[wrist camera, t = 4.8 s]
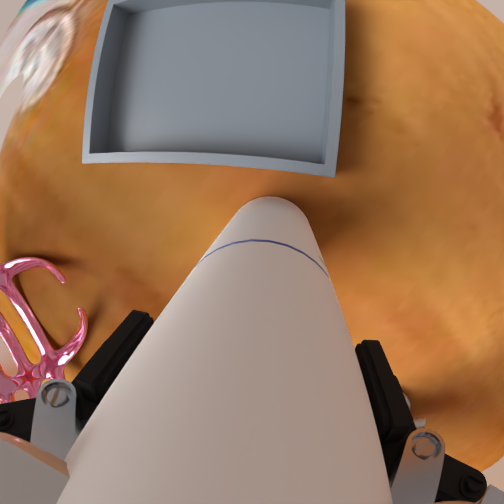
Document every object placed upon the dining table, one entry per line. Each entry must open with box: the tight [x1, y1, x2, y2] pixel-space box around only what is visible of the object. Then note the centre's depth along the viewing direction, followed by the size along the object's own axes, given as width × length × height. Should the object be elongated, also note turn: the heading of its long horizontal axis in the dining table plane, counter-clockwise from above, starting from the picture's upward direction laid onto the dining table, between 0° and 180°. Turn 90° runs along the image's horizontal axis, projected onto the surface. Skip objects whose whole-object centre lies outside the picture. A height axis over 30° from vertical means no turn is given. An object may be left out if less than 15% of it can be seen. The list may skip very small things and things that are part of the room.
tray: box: [82, 0, 345, 178], centre depth 18 cm, size 20×16×4 cm
